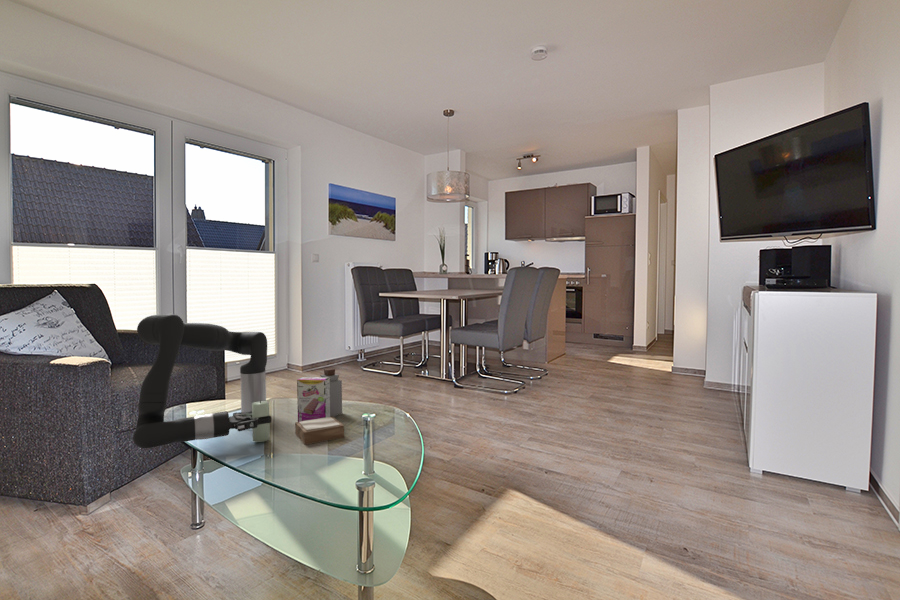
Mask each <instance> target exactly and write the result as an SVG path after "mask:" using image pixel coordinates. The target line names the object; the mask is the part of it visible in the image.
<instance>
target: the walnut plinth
mask: <svg viewBox="0 0 900 600" xmlns="http://www.w3.org/2000/svg"><path fill="white" fill-rule="evenodd" d="M294 425H295V426H294V428H295V430H294V432H295V435H296V437H297V438H298V439H299V440H300V441H301V442H302V444H304V446H305V445H311V444H315V443H321V442H327V441H331V440H332V441H333V440H337V439H343V438H345V425H344V424H343V423H342V422H340V421H339V420H338V419H336V418H335V416H331V417H325V418H319V419H313V420H307V421H300V422H298V421H296V422H294Z"/></svg>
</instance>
